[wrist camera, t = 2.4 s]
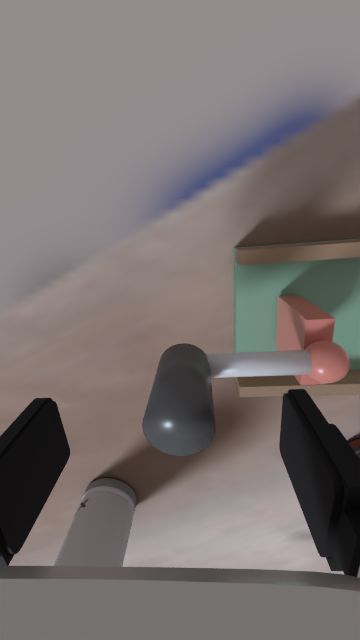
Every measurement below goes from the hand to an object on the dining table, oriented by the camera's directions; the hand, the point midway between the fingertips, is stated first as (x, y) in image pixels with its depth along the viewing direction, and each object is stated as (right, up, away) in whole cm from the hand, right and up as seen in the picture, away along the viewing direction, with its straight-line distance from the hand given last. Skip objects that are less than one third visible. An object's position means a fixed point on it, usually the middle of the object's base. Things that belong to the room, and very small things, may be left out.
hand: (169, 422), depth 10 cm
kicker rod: (+5, +4, +11) cm, 12 cm away
